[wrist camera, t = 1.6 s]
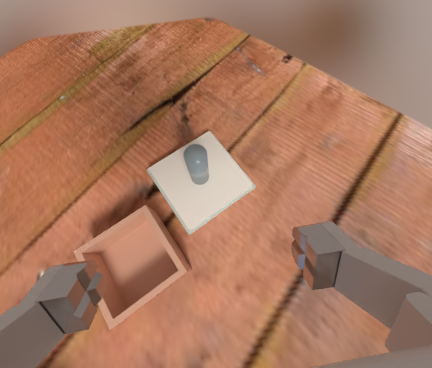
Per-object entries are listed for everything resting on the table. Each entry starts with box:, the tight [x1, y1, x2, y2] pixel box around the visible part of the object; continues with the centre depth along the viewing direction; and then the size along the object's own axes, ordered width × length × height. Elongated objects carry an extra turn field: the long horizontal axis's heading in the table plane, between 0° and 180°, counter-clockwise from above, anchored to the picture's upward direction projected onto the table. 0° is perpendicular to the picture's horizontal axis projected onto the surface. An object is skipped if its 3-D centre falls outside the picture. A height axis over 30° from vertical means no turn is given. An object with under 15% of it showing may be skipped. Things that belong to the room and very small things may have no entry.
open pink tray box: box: [74, 205, 192, 330], centre depth 29 cm, size 11×11×6 cm
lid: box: [149, 131, 253, 230], centre depth 31 cm, size 13×13×9 cm
